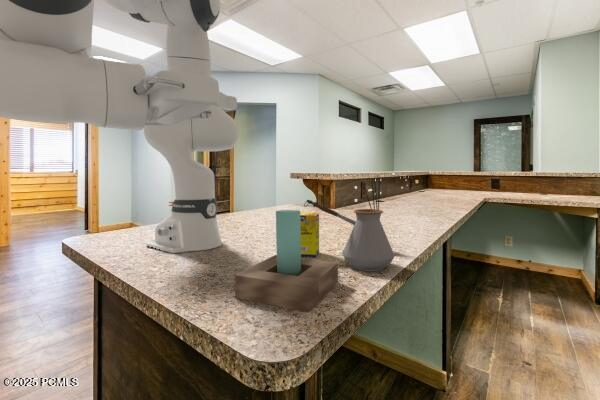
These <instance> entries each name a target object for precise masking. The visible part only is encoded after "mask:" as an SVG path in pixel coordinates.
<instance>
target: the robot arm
mask: <svg viewBox="0 0 600 400" xmlns="http://www.w3.org/2000/svg"><path fill="white" fill-rule="evenodd" d="M104 1H105V2H107V3H108V4H109V5H110V6H112V7H113V8H115V9H116V10H118V11H122V12H124V13H127V14H129V16H130V17H131V18H133V19H135V20H137V21H140V22H144V23H155V24H162V25H167V26H166V27H167V28H166V40H165V41H166V45H165V46H166V48H165V49H166V63H167V70H160V71H157V72H156V73H154V74H153V75H152V76H151V75H147V74H146V70H145V68H144V67H143V65H142V64H139V63H135V62H134V63H133V62H128V61H122V60H118V59H113V58H108V57H103V56H92V40H93V37H92V36H93V23H94V22H93V21H94V5H95V0H0V118H5V119H10V120H14V121H15V120H16V121H23V122H31V123H41V124H42V123H43V124H53V125H67V124H69V125H70V124H75V123H81V124H88V125H92V126H95V127H99V128H107V129H108V128H109V129H118V130H119V129H121V130H132V131H133V130H135V131H142V130H143V134H144V138H145V140H146V141H147V143H148V145H150V146H151V148H153V149H155V150H156V151H157V152H159V153H160V154H161V155H162V156H163V158H165V160H166V161H167V163H168V164H169V166H170V168H171V171H172V172H171V173H172V175H173V181H174V189H175V190H174V193H175V194H174V195H175V199H174V200H173V201H168V206H169V207H171V212H170V213H169V214H168V215H167V216H166V217H164V218H163V220H161V221H160V222H159V223H158V224H157V225H156V226H155V233H154V240H149V241H148V242H147V243H146V247H147V246H149V247H148V248H151V247H153V248H152V249H155V248H156V250H159V249H160V251H163V252H166V253H167V252H168V253H171V254H177V253H185V252H196V251H197V252H199V251H204V250H205V251H206V250H211V249H215V248H219V247H221V246H222V245H223V242H222V238H221V236H220V235H221V234H220V229H219V225H218V219H217V211H218V205H217V204H218V202H217V197H216V189H215V188H216V187H215V183H216V182H215V174H214V171H213V170H212V169H211V168H210V167H208V166H207V165H205V164H203V163H201V162H198V161H197V160H196V159H194V158H193V157H192V153H193V152H222V151H228V150H233V148H234V147H236V145H237V143H238V139H239V135H240V133H239V132H240V131H239V127H238V125H237V122H236V121H235V119H234V118H233V117H232V116H230V115H229V114H228V113H227V112H225V110H226V111H233V110H236V109H237V108H238V99H237V97H235V96H232V95H227V94H225V93H223V92H221V91H220V86H219V81H218V79H216V78H214V77H213V76H212V67H211V48H210V43H209V35H208V31H209V29H210V28H211V26H212V25H214V23H215V22H216V21H217V19H218V17H219V15H220V7H221V6H220V5H221V0H104Z"/></svg>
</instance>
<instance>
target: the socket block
mask: <svg viewBox="0 0 600 400" xmlns="http://www.w3.org/2000/svg"><path fill="white" fill-rule="evenodd" d="M338 283H339V262H338V261H337V262H336V261H327V260H318V259H311V258H304V257H301V274H300V275H299V276H293V275H286V274H280V273H277V254H275V255H273V256H271V257H268V258H267V259H265V260H262V261H260V262H258V263H256V264H254V265H253V266H250V267H248V268H246V269H243V270H242V271H240V272H238V273H236V274H234V290H235V292H234V293H235V294H234V295H235V299H241V300H247V301H251V302H255V303H256V302H257V303H262V304H266V305H272V306H277V307H280V308H281V307H283V308H285V309H286V308H287V309H290V310H291V309H292V310H297V311H300V312H301V311H302V312H308V313H311V312H312V311H313V310H314V308H315V307H316V306H317V305H318V304H319V303H321V302H322V300H323V299H324V298H325V297H326V296H327V295H328V294H329V293H330V292H331V291H332V290H333V289H334V288H335V286H336V285H337V284H338Z"/></svg>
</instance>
